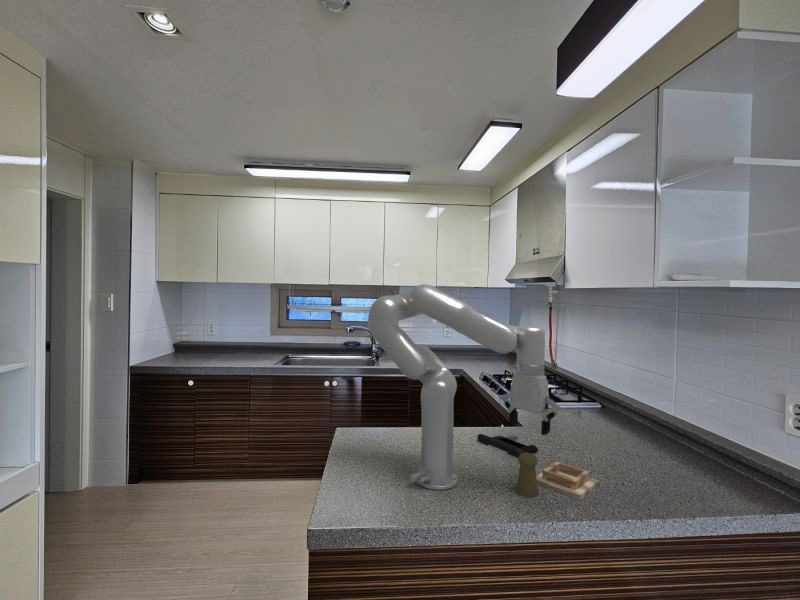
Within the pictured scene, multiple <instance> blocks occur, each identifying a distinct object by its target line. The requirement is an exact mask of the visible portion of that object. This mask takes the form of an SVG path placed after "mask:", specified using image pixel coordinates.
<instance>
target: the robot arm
mask: <svg viewBox="0 0 800 600" xmlns="http://www.w3.org/2000/svg"><path fill="white" fill-rule="evenodd" d="M367 315H368V316H367V318H368V319H367V324H368V327H369V332H370V333H371V335H372V337H373V339H374V340H375V341H376V342H377V343H378V345H379V346H380V347H381V348H382V350H384V352H385V353H386V354H387V355H388V357H389V358H390V359H391V360H392V362H393V363H394V364H395V365H396V366H397V368H398V369H399V370H400V372H402V374H403V375H404V376H405V377H406V378H407V379H411V380H415V381H416V380H419V382H421V383H422V387H421V391H420V406H421V407H420V409H421V439H420V440H421V445H420V466H418V471H417V472H416V473H414V474H411V475H410V476H409V480H410V482H411V483H414V482H416V483H417V484H418V485H420V486H421V487H423V488H426V489H429V490H436V491H442V490H448V489H452V488H454V487H455V486H456V485H457V484H458V476H457V474H456V473H455V472H453V468H454V467H453V466H454V465H453V464H454V462H453V459H454V455H453V454H454V403H455V401H454V399H455V395H456V392H457V389H458V385H457V384H458V383H457V380H456V377H455V375H454V374H453V373H452V372H451V371H450V369H449V368H448V367H447V366H446V365H445V364H444V363H443V362H442V360H441V359H440V358H439V357H438V356H437V355H436V354H435V353H434V351H432V350H431V349H430V348H429V347H427V346H425V345H421V344H416V343H415V342H414V341H413V339H412V338H410V336H409V335H408V334H407V333H406V331H404V330H403V329H402V328H401V327H400V326H399V324H398V322H399V321H402V320H406V319H409V318H412V317H416V316H419V315H425V316H427V317H429V318H430V319H433V320H435V321H436V322H438V323H440V324H442V325H445V326H447V327H448V328H450V329H452V330H454V331H455V332H457V333H459V334H462V335H463V336H465V337H467V339H470V340H472V341H474V342H475V343H478V344H480V345H481V346H484V347H485V348H487V349H489V350H492V351H494V352H496V353H499V354H502V355H503V354H509V353H511V352H513V351H514V350H516V362H514V363H513V364H512V367H513V369H515V371H516V372H513V374H512V377H511V383H510V391H509V392H507V393H504V394H502V395H501V397H502V400H503V401H502V402H504V403H503V404H504V406H505V407H506V409H507V412H508V413H509V421H508V422H509V426H510V427H515V426H518V423H519V422H518V421H519V413H518V411H517V410H520V411H525V412H529V413H533V414H539V415H540V417H541V418H542V419H543V420H541V427H540V428H541V429H540V431H541V436H546V435H548V434H549V433H550V431H551V420H552V419H554V417H556V416H557V415H558V413H559V411H560V410H561V406H560V405H559V404H557V403H556V402H555V401H553V400H552V399H551V398H550V393H549V383H548V379H547V375H545V353H546V352H545V351H546V350H545V349H546V346H545V344H546V333H545V332H546V331H545V330H544V329H545V328H543V327H540V326H536V325H535V326H534V325H523V326H519V325H518V326H517V325H511V324H507V323H506V324H503V323H502V324H501V323H499V322H497V321H496V320H493V319H491V318H490V317H487V316H485V315H483V314H482V313H480V312H478V311H477V310H475V309H474V308H473V307H471V306H470V305H469V304H467V303H466V302H464V301H463V300H462V301H461V300H460V299H458V298H455V297H453V296H451V295H450V294H448V293H445V292H443V291H442V290H439V289H437V288H436V287H435V286H433V285H430V284H426V283H425V284H424V283H422V284H419V285H417V286H415V287H414V288H413V289H411V290H408V291H405V292H402V293H398V294H395V295H383V296H380V297H379V298H377V299H375V300H374V301H373V303H372V304H371V306H370V308H369V312H368V314H367ZM549 408H551V412H550V411H549Z"/></svg>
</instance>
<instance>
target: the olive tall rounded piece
mask: <svg viewBox="0 0 800 600" xmlns="http://www.w3.org/2000/svg"><path fill="white" fill-rule="evenodd" d="M517 458H518V464H519V470H518V476H517V483H516V487H515V492H516V494H518V495H519V496H522V497H524V498H528V499H529V498H530V499H531V498H536V497H538V495H539V492H538V484H537V480H536V476H537V472H536V467H537V465H538V458H537V456H536V455H535V453H527V452H524V453H521V454H520V455H519V457H517Z"/></svg>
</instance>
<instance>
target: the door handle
mask: <svg viewBox="0 0 800 600" xmlns="http://www.w3.org/2000/svg"><path fill="white" fill-rule="evenodd" d="M518 438H519V436H518V435H515V434H513V435H509V436H502V435H497V436H492V437H491V436H489V435H487V434H483V433H479V434H478V435H477V440H478V441H479V442H480V443H482V444H485V445H487V446H488V447H489V448H492V449H495V450H497V451H499V452H502V453H505V454H510V455H512V456H515V457H516V458H518V457H519V455H520V454H521V453H524V452H527V453H532V454H536V453H537V452H538V451H539V447H538V446H536V445H534V444H530V445H527V444H524V443H520V442H519V441H518Z"/></svg>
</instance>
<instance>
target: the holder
mask: <svg viewBox="0 0 800 600" xmlns="http://www.w3.org/2000/svg"><path fill="white" fill-rule="evenodd" d="M536 480H537V486H538V485H539V486H542V487H544V488H546V487H547V488H546V489H549V490H552V491H555V492H558V493H560V494H563V495H565V496H568V497H570V498H573V499H576V500H579V501H581V499H583V498H584V497H585V496H586V495H588V494H589V493H590V492H591V491H593V490H594V489H595V488H596V487H597V486H598V484H599V485H600V480H599V479H596V478H593V477H591V476H590V471H589V470H585V469H582V468H579V467H576V466H572V465H569V464H567V463H564V462H561V461H556V462H554V463H552V464H551V465H549V466H547V467H546V468H544V469H543V470H542V472H541V473H539V474H538V475H537V474H536ZM592 489H593V490H592Z"/></svg>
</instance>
